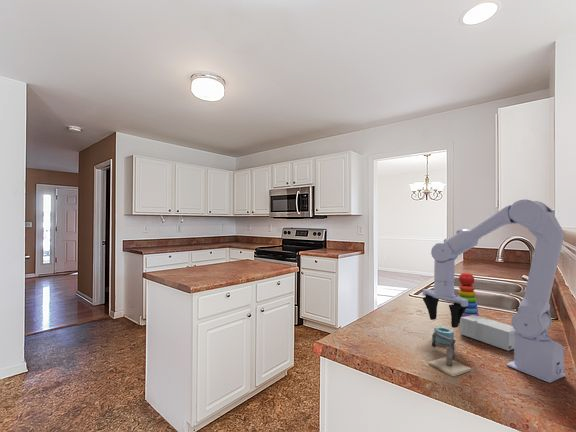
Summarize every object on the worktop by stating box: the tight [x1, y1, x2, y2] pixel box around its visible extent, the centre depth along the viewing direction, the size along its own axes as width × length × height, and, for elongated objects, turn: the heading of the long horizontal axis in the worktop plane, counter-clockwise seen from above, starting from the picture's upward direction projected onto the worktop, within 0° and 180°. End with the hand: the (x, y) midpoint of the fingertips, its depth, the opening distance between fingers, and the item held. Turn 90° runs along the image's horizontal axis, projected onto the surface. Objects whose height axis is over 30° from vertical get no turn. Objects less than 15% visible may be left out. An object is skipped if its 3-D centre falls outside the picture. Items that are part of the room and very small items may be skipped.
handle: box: [431, 332, 456, 361], centre depth 86 cm, size 10×6×4 cm, turn 27°
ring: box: [433, 326, 455, 345], centre depth 95 cm, size 5×5×4 cm
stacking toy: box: [457, 272, 480, 323], centre depth 113 cm, size 8×8×19 cm
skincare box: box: [459, 315, 514, 352], centre depth 95 cm, size 8×6×15 cm
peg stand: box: [428, 346, 472, 377], centre depth 78 cm, size 7×7×5 cm
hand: (443, 323), depth 95 cm, fingers open, 7 cm apart
